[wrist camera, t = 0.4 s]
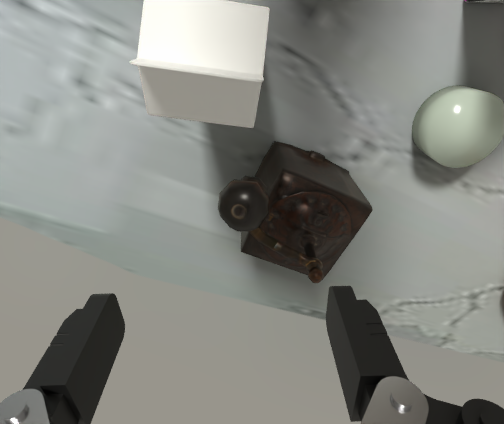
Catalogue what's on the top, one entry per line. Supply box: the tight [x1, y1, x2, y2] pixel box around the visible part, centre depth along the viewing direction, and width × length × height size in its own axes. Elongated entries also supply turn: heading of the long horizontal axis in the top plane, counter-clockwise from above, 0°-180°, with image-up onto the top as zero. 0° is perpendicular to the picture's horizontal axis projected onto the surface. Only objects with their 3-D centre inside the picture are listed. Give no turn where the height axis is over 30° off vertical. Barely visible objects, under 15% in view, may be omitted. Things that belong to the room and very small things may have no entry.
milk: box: [130, 0, 270, 128], centre depth 24 cm, size 6×6×22 cm
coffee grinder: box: [218, 141, 372, 283], centre depth 33 cm, size 16×11×18 cm
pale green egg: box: [412, 85, 504, 168], centre depth 36 cm, size 8×8×4 cm
